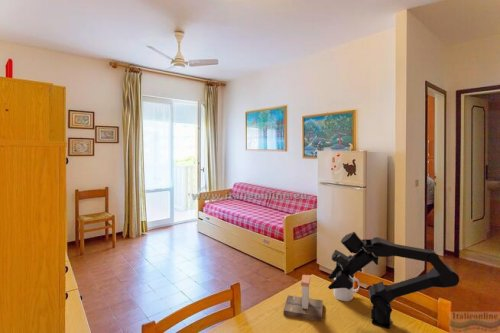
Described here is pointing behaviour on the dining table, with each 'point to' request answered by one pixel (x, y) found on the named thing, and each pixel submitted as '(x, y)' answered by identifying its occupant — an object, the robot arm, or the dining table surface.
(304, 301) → the fader tab
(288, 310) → the fader console
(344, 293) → the mug
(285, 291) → the dining table surface
